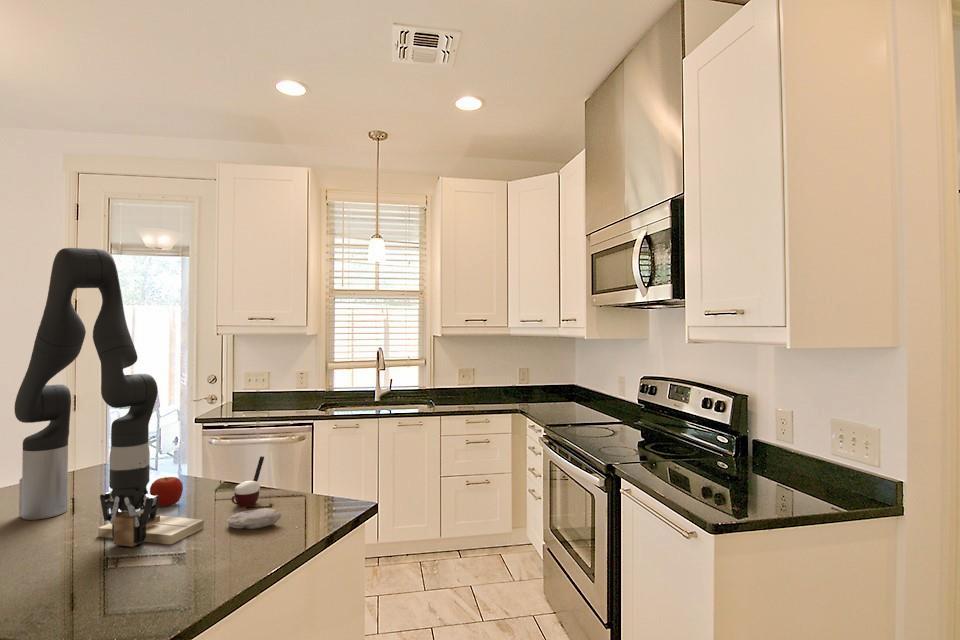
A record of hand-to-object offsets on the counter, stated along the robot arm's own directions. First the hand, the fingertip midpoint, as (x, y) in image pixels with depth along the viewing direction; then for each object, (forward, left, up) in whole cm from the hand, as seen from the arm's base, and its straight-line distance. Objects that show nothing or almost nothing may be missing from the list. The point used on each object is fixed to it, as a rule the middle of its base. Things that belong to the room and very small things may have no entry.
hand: (129, 540), depth 119 cm
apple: (-13, +24, -1) cm, 28 cm away
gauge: (0, +3, 0) cm, 3 cm away
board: (-1, +7, -1) cm, 8 cm away
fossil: (+19, +17, -1) cm, 26 cm away
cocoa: (+8, +30, -1) cm, 31 cm away
